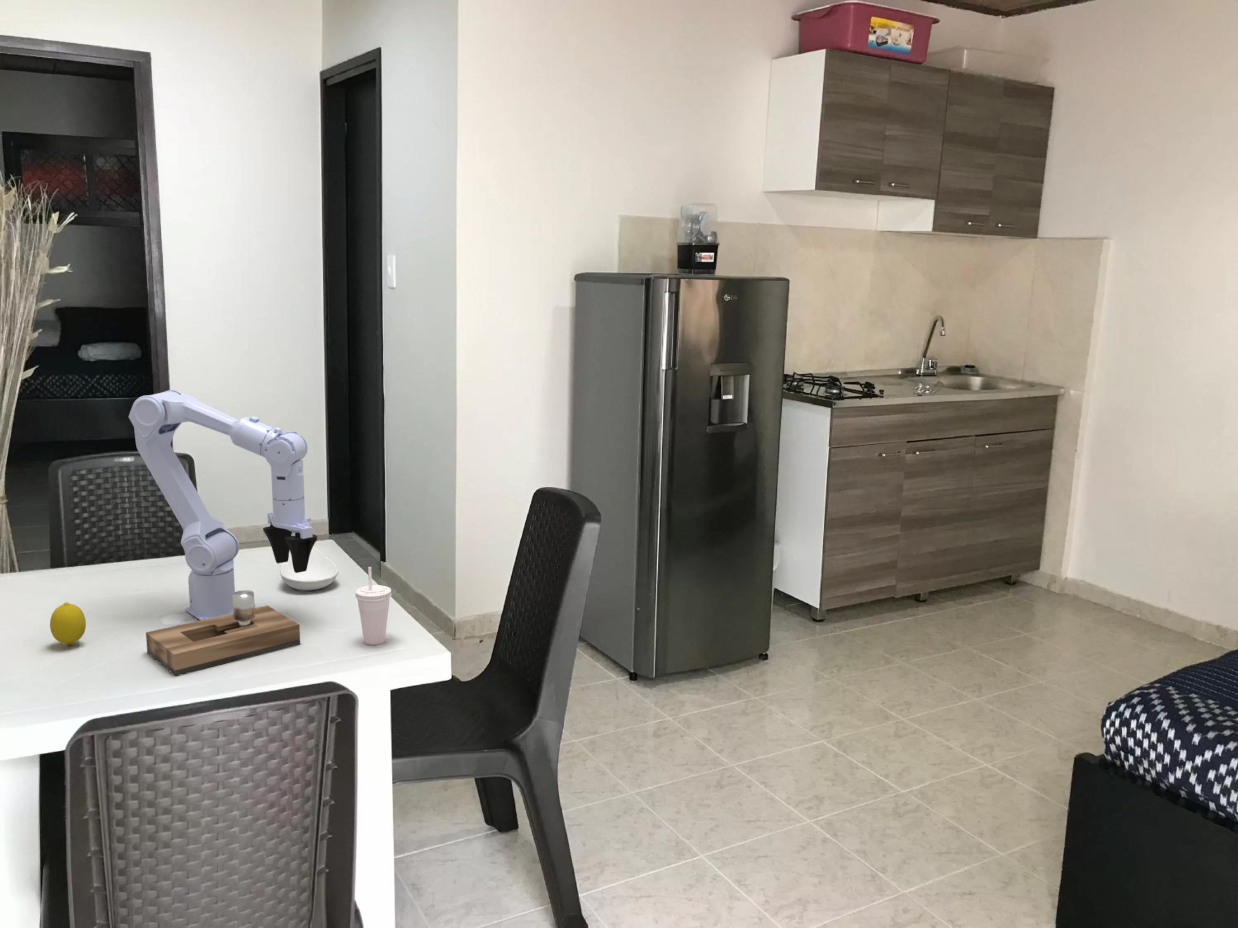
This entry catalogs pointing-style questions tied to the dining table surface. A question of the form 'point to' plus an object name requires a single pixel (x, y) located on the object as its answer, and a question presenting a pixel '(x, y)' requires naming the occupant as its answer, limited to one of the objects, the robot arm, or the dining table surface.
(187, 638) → the keyhole board
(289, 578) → the spoon rest
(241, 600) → the peg
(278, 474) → the robot arm
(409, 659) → the dining table surface
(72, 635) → the lemon
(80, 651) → the dining table surface
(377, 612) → the smoothie
